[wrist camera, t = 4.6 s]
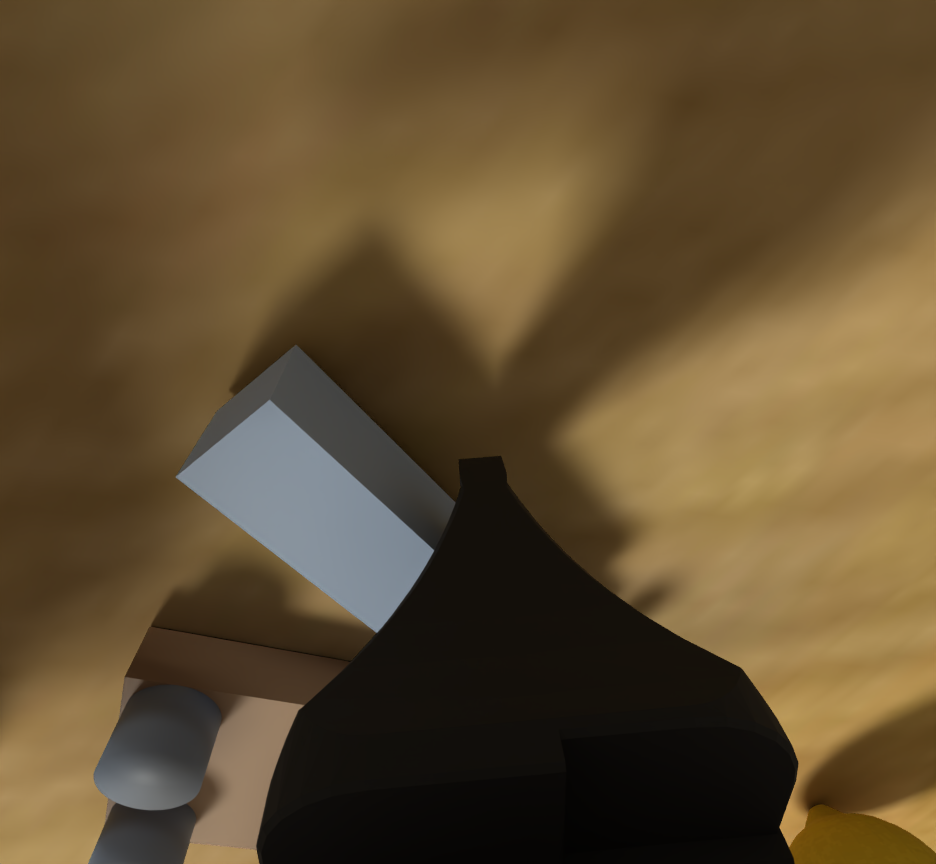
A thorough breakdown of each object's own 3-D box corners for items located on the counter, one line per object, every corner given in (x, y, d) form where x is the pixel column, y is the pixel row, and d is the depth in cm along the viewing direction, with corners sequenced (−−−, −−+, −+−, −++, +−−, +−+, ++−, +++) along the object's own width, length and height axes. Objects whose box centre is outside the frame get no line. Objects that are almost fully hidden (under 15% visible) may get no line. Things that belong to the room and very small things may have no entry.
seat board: (125, 780, 18) (74, 901, 15) (149, 626, 15) (91, 742, 12) (499, 825, 21) (512, 935, 18) (580, 702, 18) (609, 811, 15)
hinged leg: (589, 635, 16) (615, 716, 14) (521, 674, 17) (538, 757, 14) (296, 344, 11) (269, 399, 9) (217, 410, 12) (175, 476, 10)
